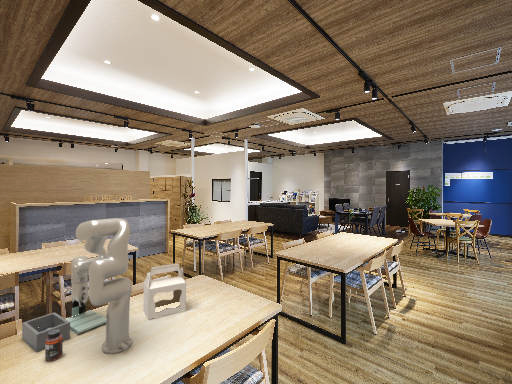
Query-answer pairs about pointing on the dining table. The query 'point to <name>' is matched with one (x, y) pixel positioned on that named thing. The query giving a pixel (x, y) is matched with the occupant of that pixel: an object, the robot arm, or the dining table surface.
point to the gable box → (164, 285)
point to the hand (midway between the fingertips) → (78, 311)
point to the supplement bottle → (53, 345)
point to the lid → (84, 320)
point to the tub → (44, 330)
